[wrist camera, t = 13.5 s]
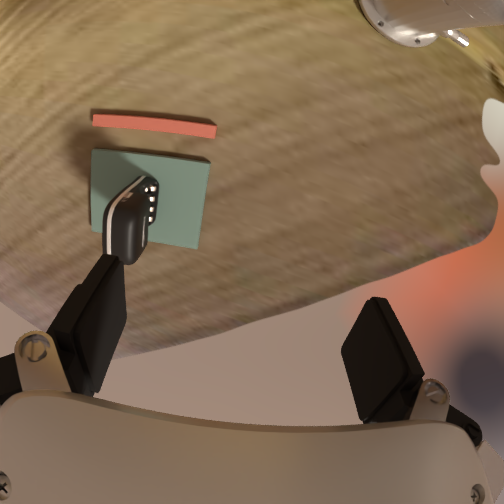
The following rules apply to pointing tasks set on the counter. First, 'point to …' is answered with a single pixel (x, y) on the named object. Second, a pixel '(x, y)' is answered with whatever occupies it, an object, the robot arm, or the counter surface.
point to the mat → (170, 191)
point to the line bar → (155, 124)
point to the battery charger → (130, 219)
